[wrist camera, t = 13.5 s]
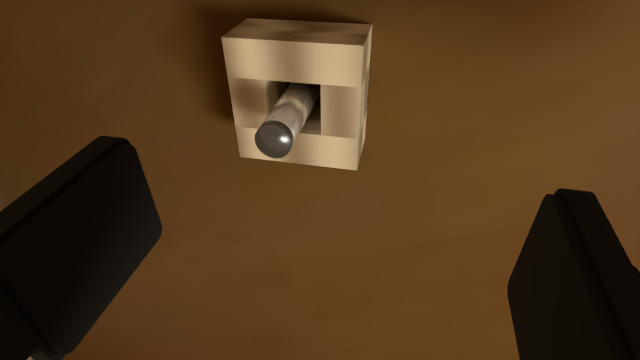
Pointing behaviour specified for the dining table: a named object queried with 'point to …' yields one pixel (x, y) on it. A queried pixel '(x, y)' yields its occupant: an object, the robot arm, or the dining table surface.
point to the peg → (286, 119)
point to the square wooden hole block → (301, 67)
